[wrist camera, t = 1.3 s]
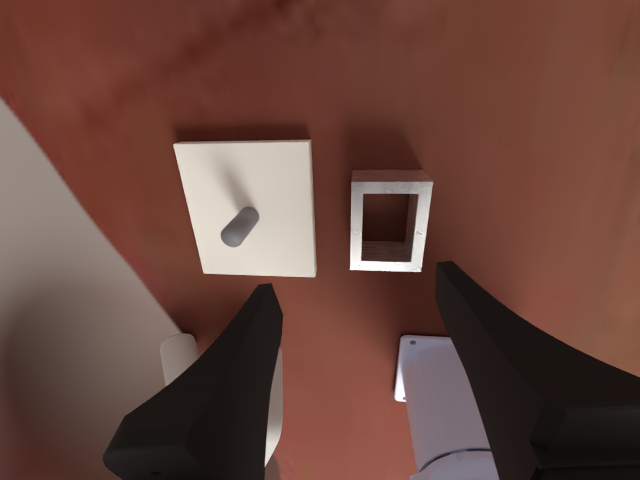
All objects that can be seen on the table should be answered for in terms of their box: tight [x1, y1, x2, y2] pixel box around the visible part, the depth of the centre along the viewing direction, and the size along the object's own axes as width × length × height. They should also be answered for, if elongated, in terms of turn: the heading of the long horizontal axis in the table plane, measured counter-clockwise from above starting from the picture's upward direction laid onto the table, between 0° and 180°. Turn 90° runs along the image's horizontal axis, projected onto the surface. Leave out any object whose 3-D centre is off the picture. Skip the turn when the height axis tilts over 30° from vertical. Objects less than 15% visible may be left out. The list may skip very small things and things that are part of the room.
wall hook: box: [160, 333, 283, 466], centre depth 26 cm, size 8×10×10 cm
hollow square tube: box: [350, 169, 433, 272], centre depth 20 cm, size 6×5×3 cm
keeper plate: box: [173, 140, 317, 277], centre depth 21 cm, size 9×10×4 cm
